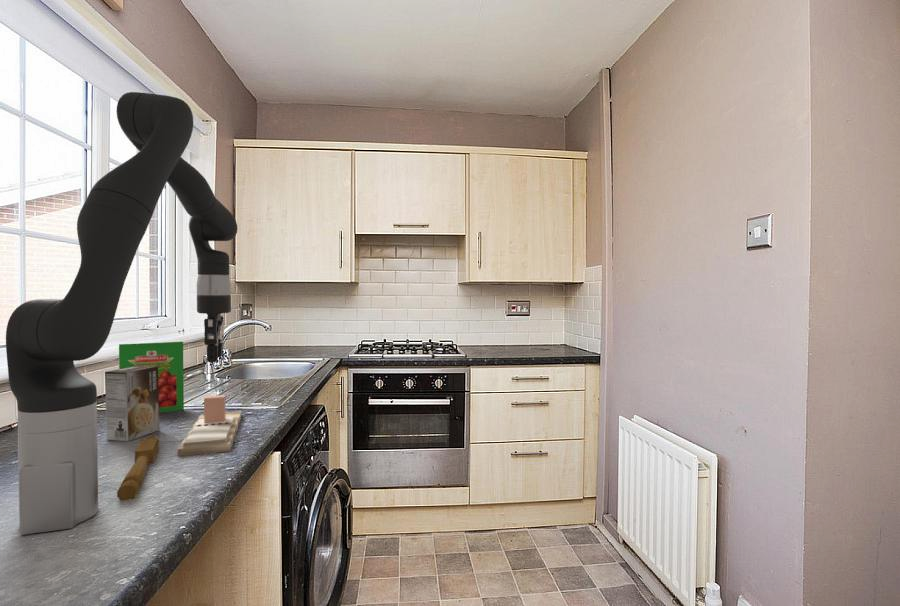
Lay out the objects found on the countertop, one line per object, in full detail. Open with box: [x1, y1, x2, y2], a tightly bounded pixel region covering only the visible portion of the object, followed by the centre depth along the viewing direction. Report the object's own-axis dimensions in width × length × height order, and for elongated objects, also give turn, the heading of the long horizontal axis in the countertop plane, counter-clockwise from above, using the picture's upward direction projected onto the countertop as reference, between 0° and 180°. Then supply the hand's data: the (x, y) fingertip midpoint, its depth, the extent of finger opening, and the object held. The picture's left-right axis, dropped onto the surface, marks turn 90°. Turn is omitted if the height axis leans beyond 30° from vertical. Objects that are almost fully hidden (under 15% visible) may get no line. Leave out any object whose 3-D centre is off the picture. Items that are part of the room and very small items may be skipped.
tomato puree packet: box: [118, 341, 185, 414], centre depth 133 cm, size 15×1×20 cm, turn 120°
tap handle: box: [116, 435, 160, 502], centre depth 91 cm, size 3×3×30 cm
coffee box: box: [104, 366, 161, 442], centre depth 113 cm, size 9×6×16 cm
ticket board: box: [177, 410, 243, 457], centre depth 115 cm, size 30×10×3 cm, turn 20°
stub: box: [194, 394, 234, 426], centre depth 117 cm, size 6×8×7 cm
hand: (214, 359), depth 116 cm, fingers open, 8 cm apart
